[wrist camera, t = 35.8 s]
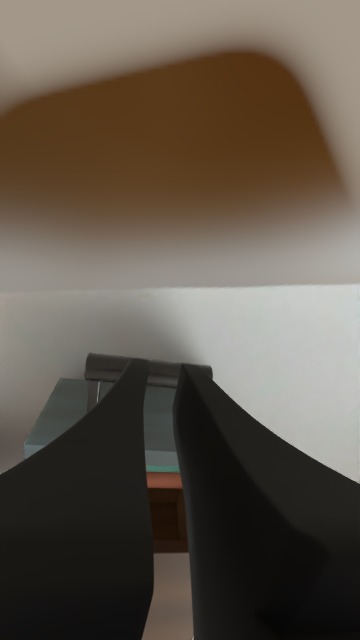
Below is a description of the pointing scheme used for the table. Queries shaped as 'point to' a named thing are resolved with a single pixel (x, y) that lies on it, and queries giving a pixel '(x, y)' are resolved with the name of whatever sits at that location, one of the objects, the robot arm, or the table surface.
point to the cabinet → (170, 593)
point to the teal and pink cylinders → (163, 476)
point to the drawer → (160, 449)
